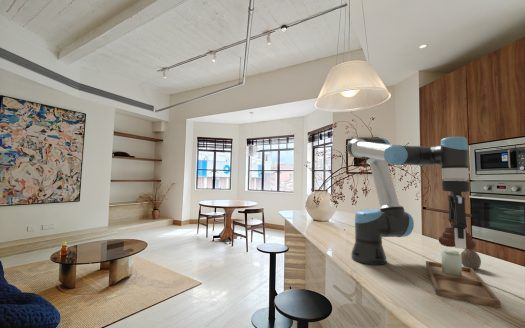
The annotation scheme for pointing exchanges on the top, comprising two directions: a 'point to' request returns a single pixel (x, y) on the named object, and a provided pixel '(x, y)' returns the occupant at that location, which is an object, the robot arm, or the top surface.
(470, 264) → the vase
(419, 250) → the top surface
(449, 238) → the poop emoji
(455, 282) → the divided wooden tray
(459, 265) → the jar
